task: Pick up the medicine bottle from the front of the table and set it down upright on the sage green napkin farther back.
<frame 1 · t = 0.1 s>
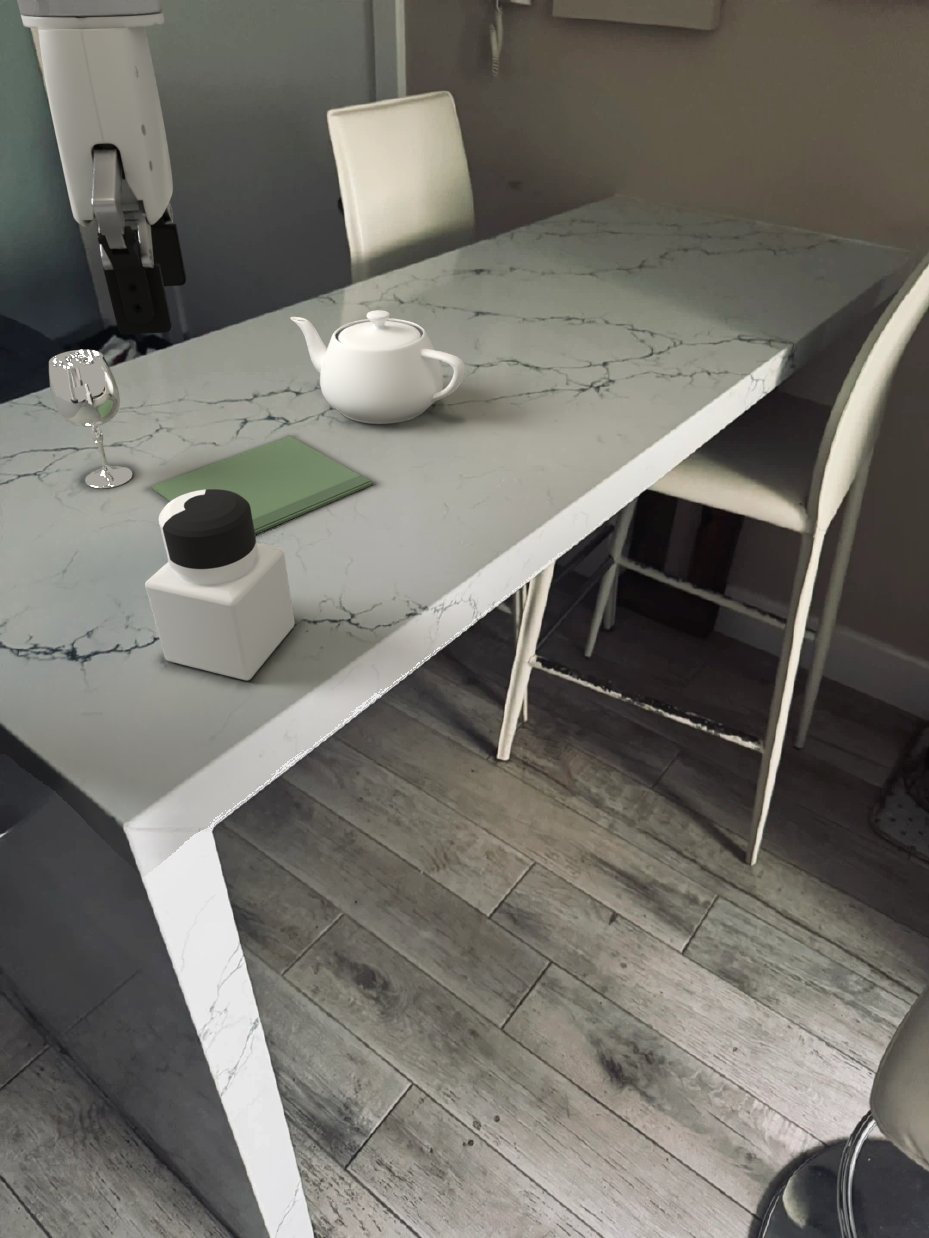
hand: (155, 307, 58), 22 cm above the counter, tool pointing down, fingers open, 9 cm apart
medicine bottle: (232, 645, 66), on the counter
teapot: (378, 408, 100), on the counter
wineglass: (109, 479, 86), on the counter
napkin: (262, 486, 85), on the counter
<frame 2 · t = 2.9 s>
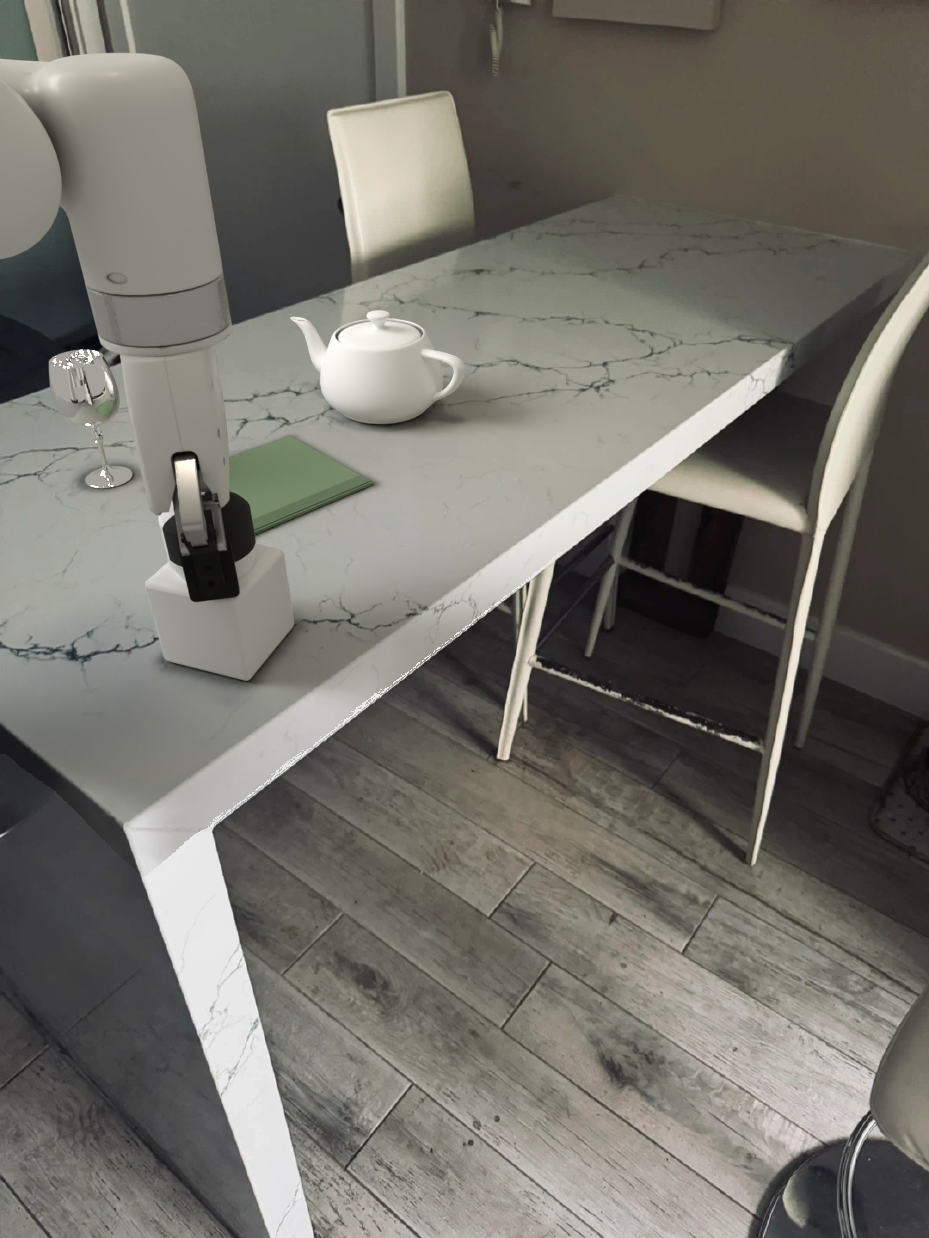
hand: (215, 561, 61), 7 cm above the counter, tool pointing down, fingers closed on medicine bottle, 7 cm apart
medicine bottle: (232, 645, 66), on the counter, touching gripper
everything else where it was.
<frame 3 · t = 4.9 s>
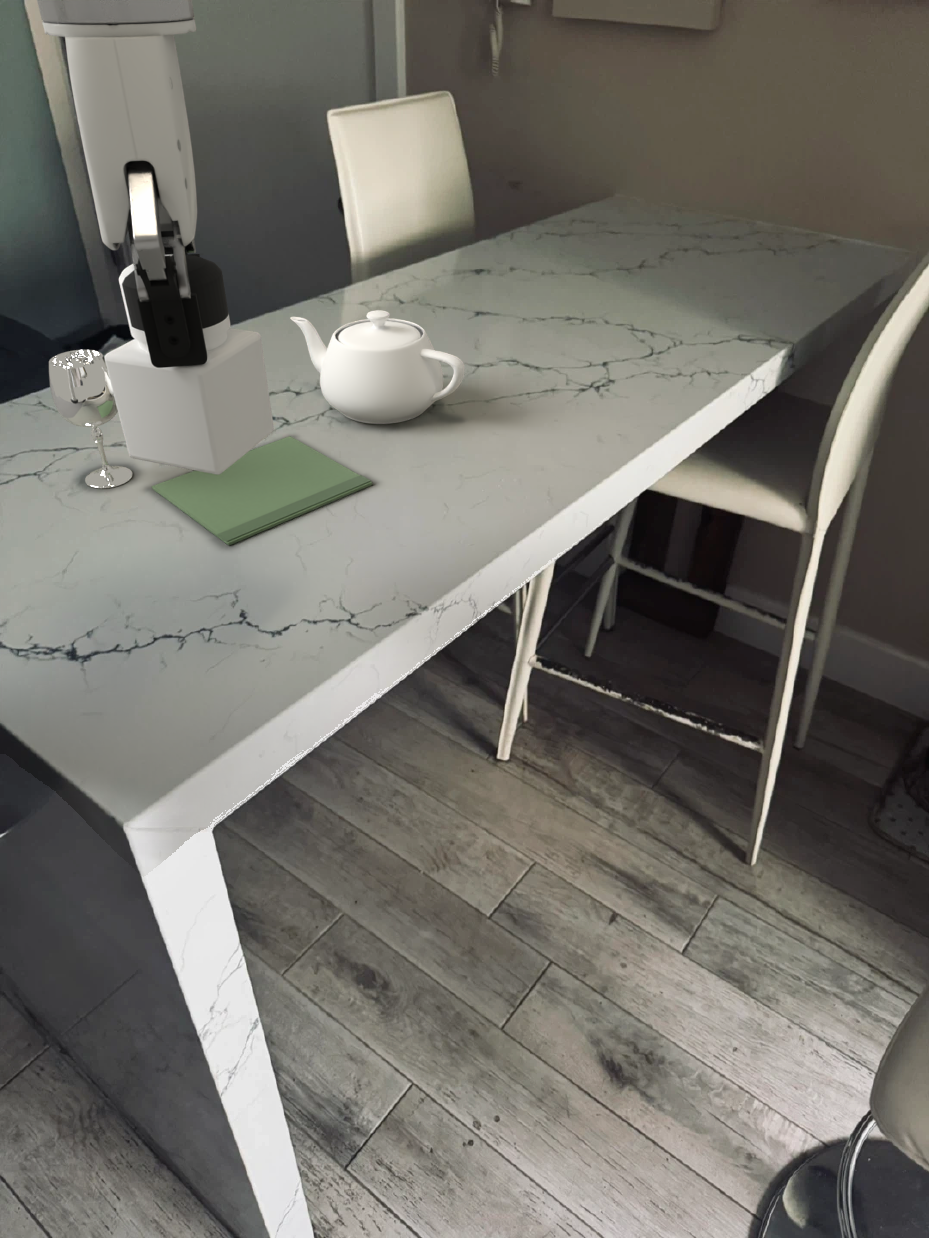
hand: (183, 338, 55), 22 cm above the counter, tool pointing down, fingers closed on medicine bottle, 7 cm apart
medicine bottle: (204, 448, 60), point 14 cm above the counter, touching gripper
everything else where it was.
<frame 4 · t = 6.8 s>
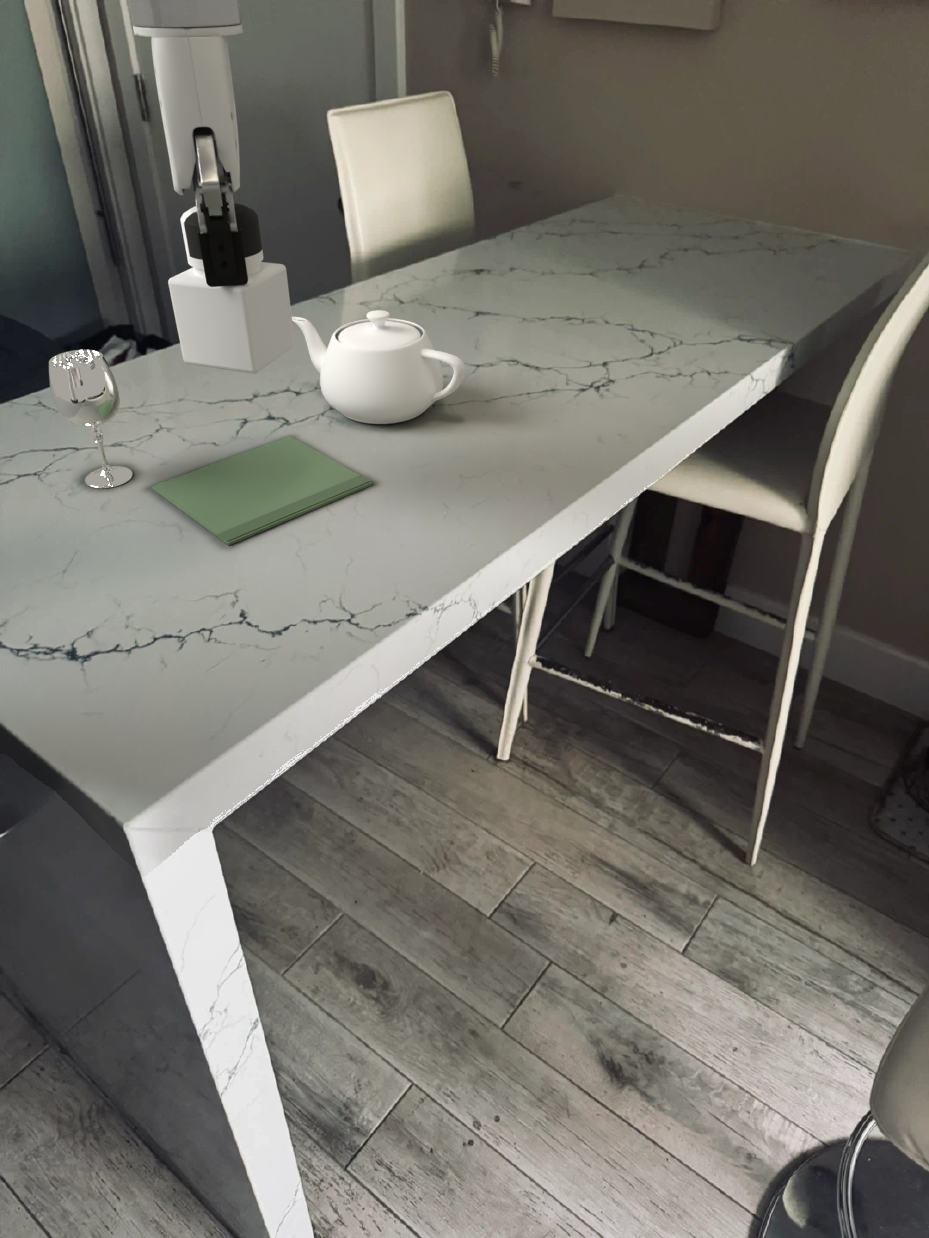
hand: (226, 268, 72), 21 cm above the counter, tool pointing down, fingers closed on medicine bottle, 7 cm apart
medicine bottle: (241, 357, 76), point 13 cm above the counter, touching gripper
everything else where it was.
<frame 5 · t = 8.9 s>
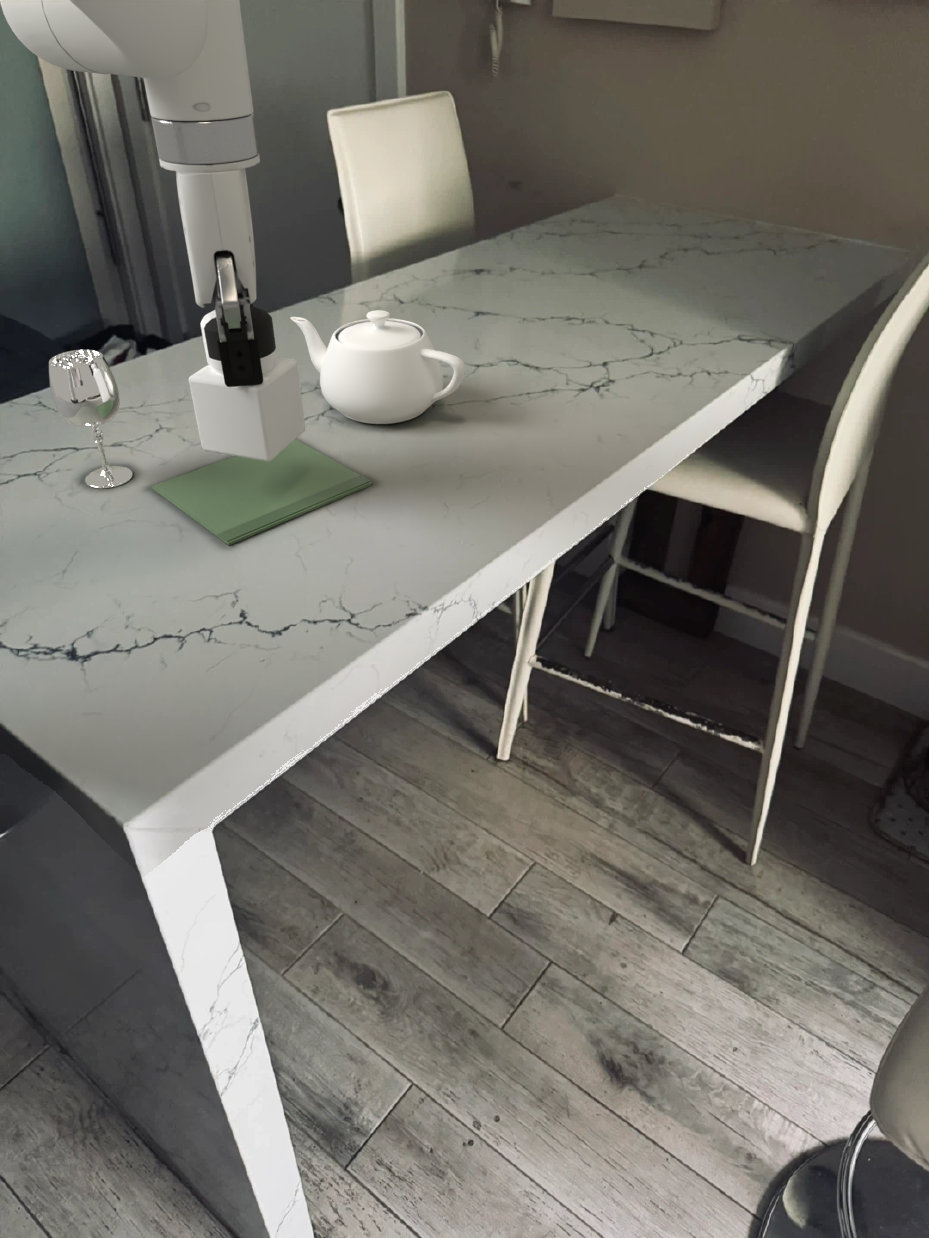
hand: (242, 365, 77), 12 cm above the counter, tool pointing down, fingers closed on medicine bottle, 7 cm apart
medicine bottle: (255, 443, 82), point 5 cm above the counter, touching gripper
everything else where it was.
when the fingers open (8 cm above the counter, at t = 10.8 s): medicine bottle stays where it is, resting on napkin.
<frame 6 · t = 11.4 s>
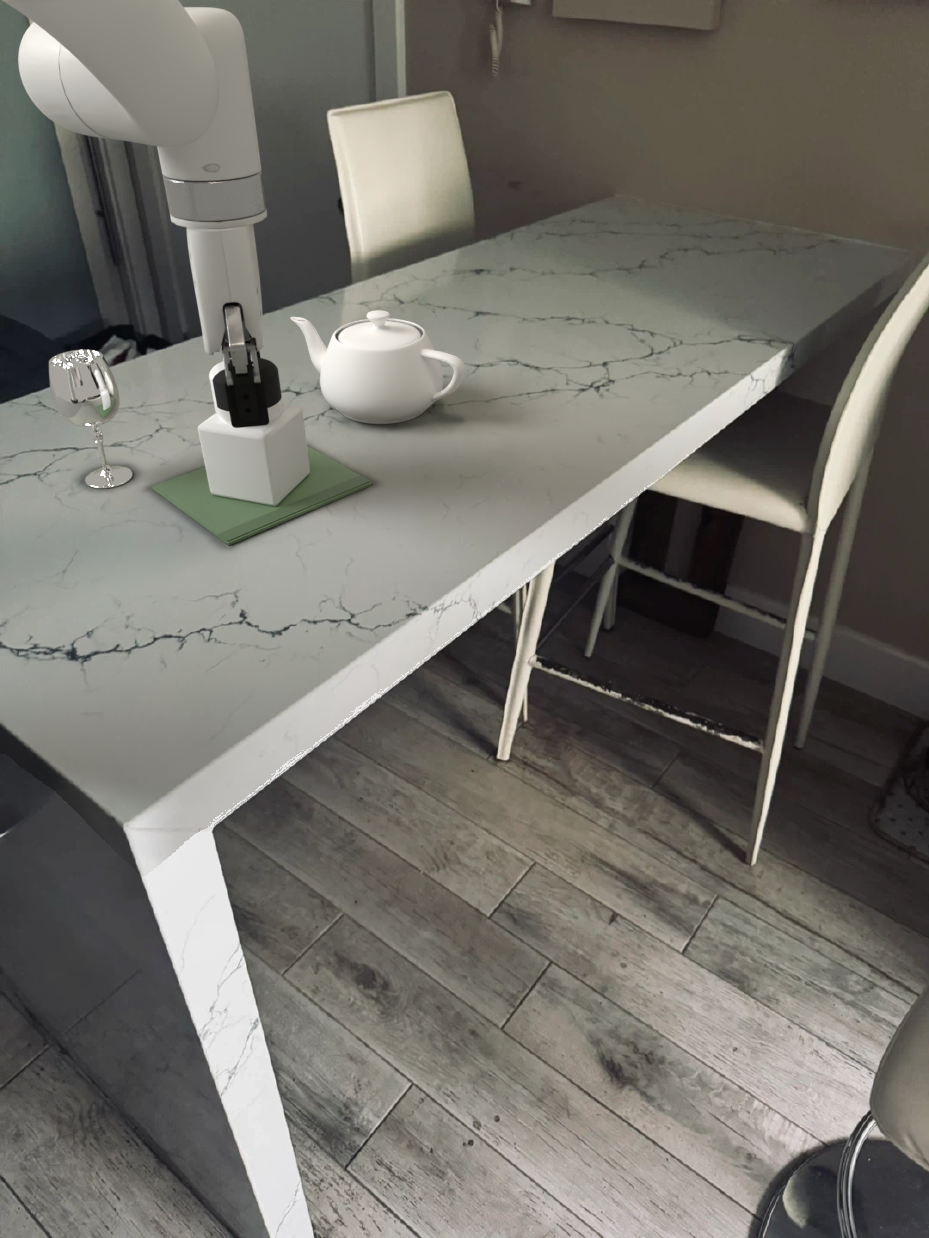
hand: (248, 402, 79), 9 cm above the counter, tool pointing down, fingers open, 9 cm apart
medicine bottle: (262, 486, 84), resting on napkin
everything else where it was.
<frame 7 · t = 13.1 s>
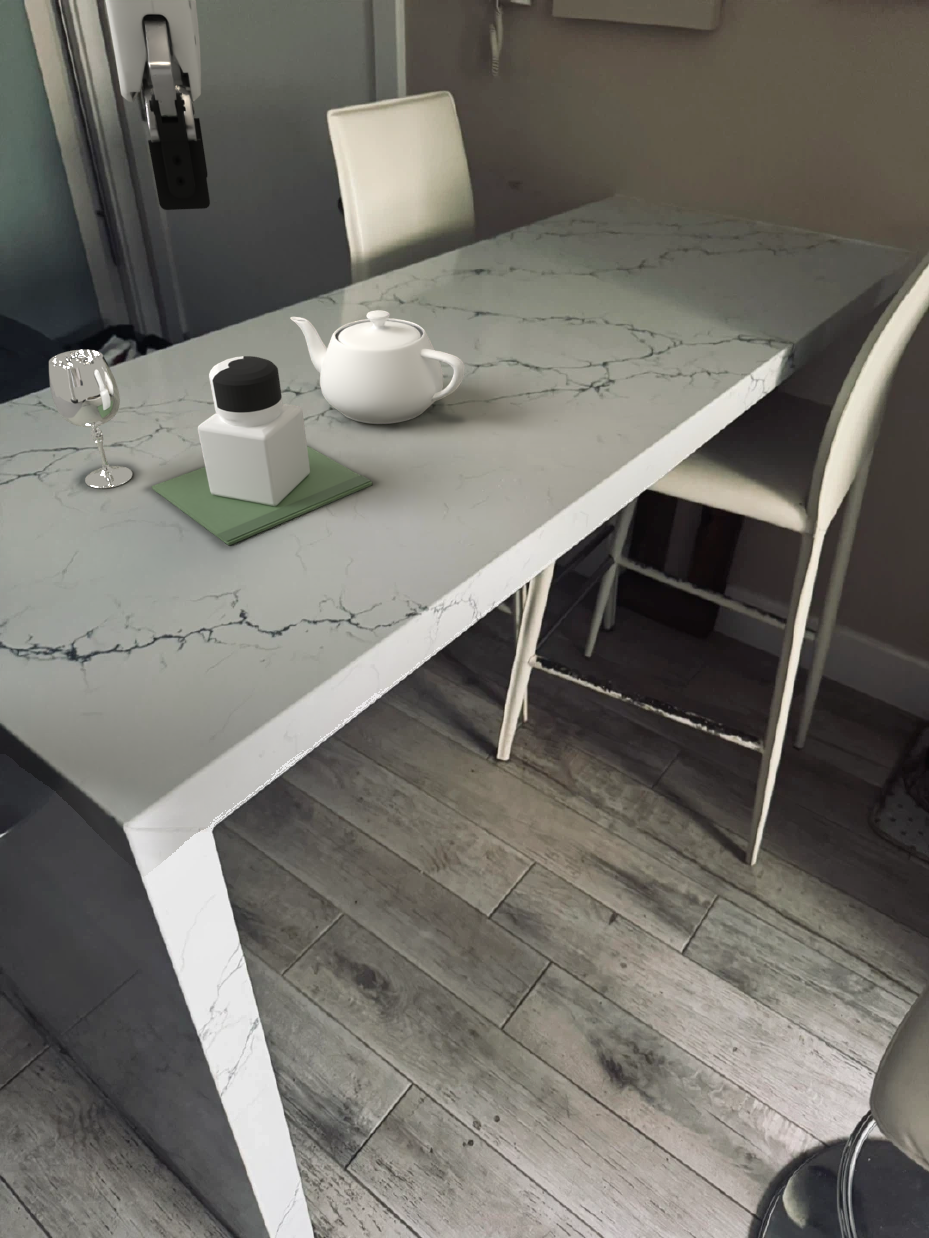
hand: (186, 193, 61), 28 cm above the counter, tool pointing down, fingers open, 9 cm apart
nothing on the counter moved.
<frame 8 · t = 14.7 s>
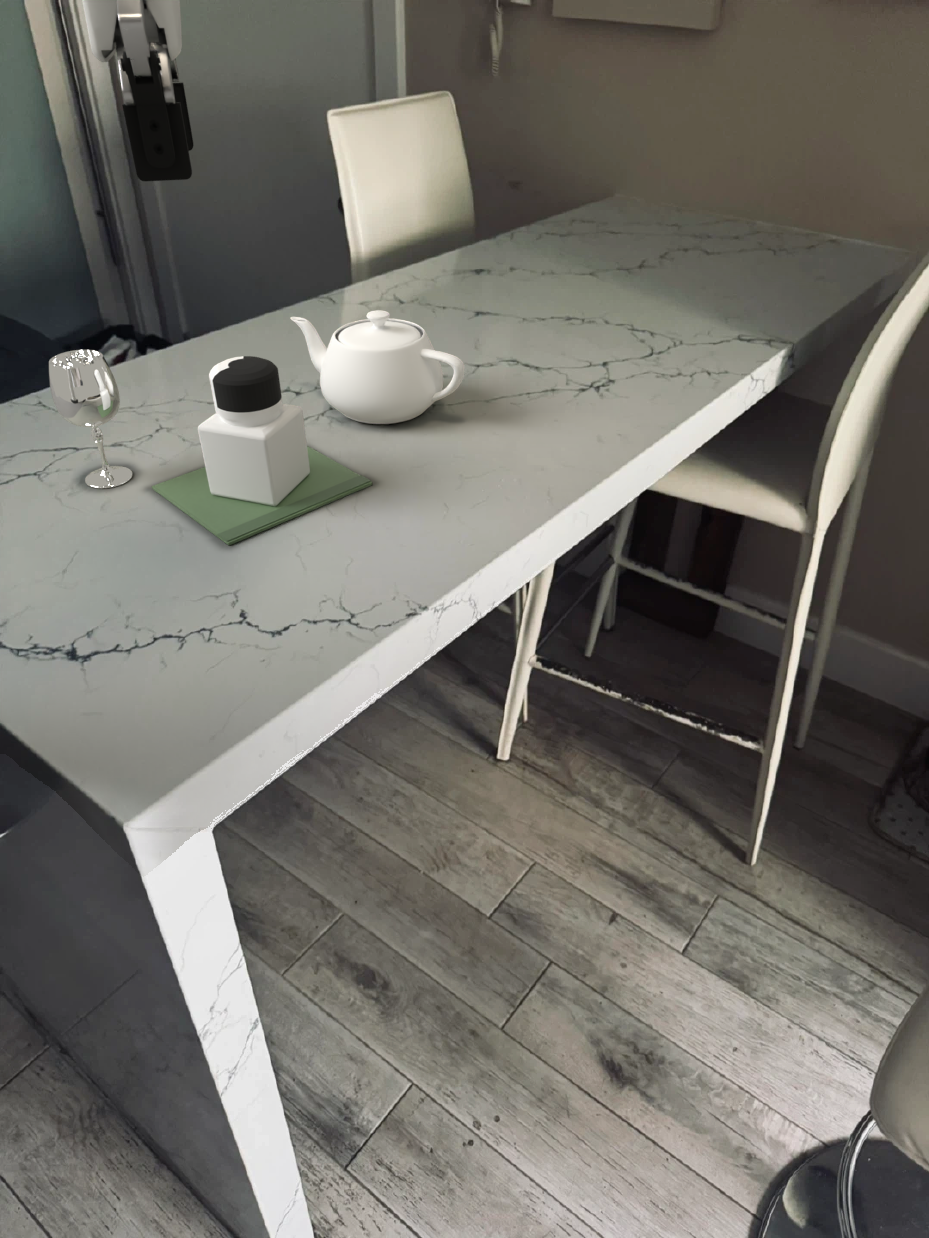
hand: (168, 164, 57), 30 cm above the counter, tool pointing down, fingers open, 9 cm apart
nothing on the counter moved.
at the end: medicine bottle inside the target area on the napkin (0.1 cm from its centre), point 0.1 cm above the napkin's base; medicine bottle tilted 0°; the gripper is holding nothing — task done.
